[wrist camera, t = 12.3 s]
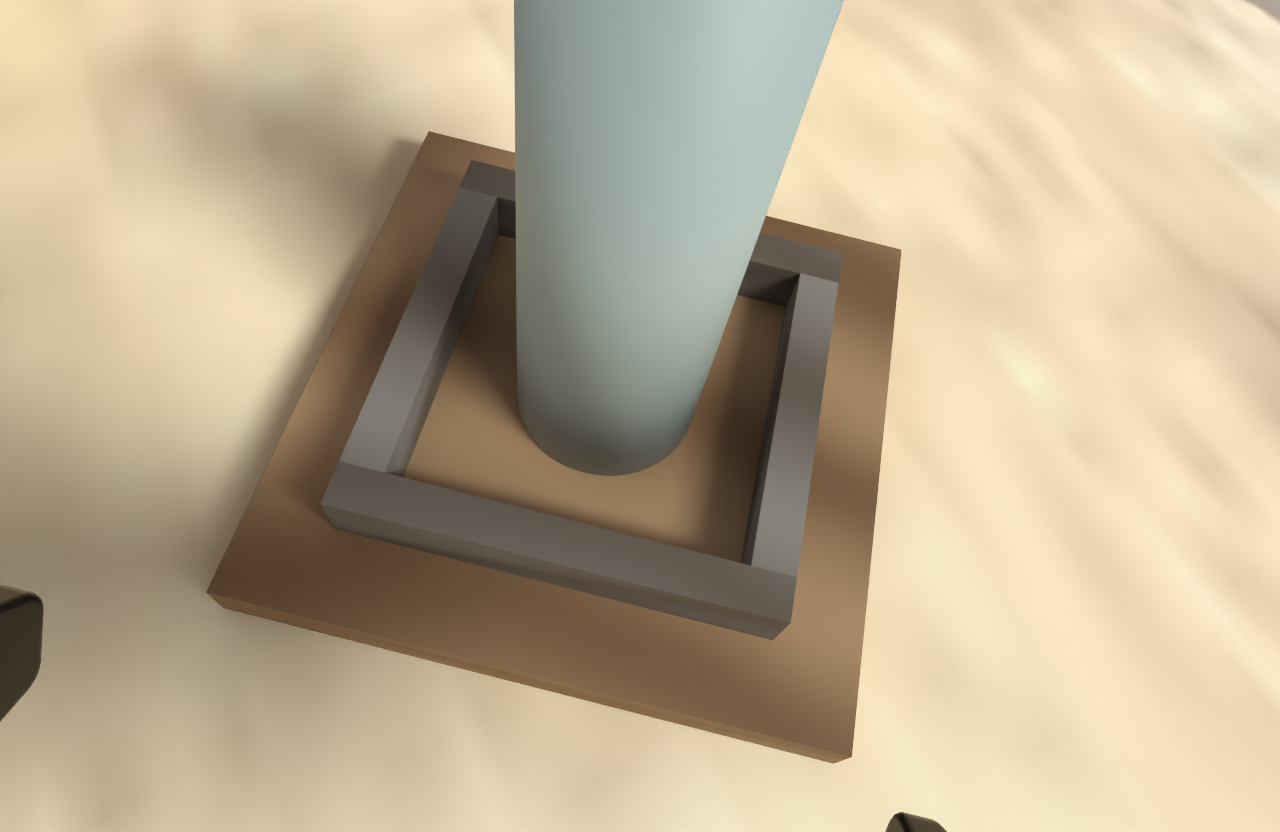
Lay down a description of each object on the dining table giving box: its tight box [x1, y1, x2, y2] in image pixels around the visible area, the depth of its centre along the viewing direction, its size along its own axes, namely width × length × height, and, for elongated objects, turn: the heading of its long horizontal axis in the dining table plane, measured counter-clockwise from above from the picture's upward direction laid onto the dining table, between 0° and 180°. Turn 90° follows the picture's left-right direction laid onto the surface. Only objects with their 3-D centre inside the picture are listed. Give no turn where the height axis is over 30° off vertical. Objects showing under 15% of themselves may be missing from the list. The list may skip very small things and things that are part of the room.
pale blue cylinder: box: [514, 0, 844, 476], centre depth 16 cm, size 4×4×13 cm
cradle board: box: [206, 131, 901, 763], centre depth 21 cm, size 14×14×3 cm
